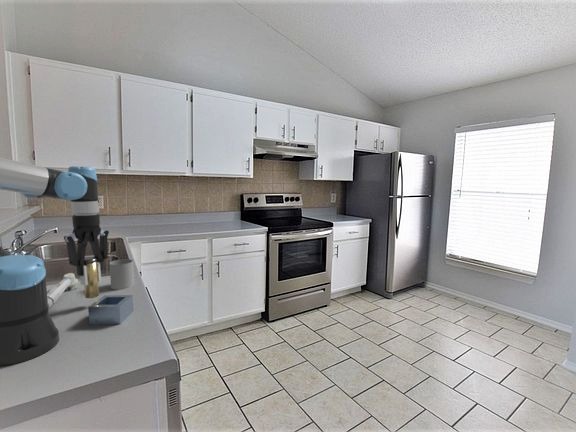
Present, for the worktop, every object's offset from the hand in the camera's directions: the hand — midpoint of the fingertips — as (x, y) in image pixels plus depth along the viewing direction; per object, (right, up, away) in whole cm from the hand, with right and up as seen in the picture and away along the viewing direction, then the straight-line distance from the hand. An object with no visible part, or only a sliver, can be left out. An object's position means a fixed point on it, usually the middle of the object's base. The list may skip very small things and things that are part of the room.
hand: (91, 282), depth 103 cm
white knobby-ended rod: (-17, -8, +8) cm, 20 cm away
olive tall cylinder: (0, -5, +1) cm, 5 cm away
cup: (-1, -6, +21) cm, 22 cm away
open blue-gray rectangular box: (+11, -10, -7) cm, 17 cm away
